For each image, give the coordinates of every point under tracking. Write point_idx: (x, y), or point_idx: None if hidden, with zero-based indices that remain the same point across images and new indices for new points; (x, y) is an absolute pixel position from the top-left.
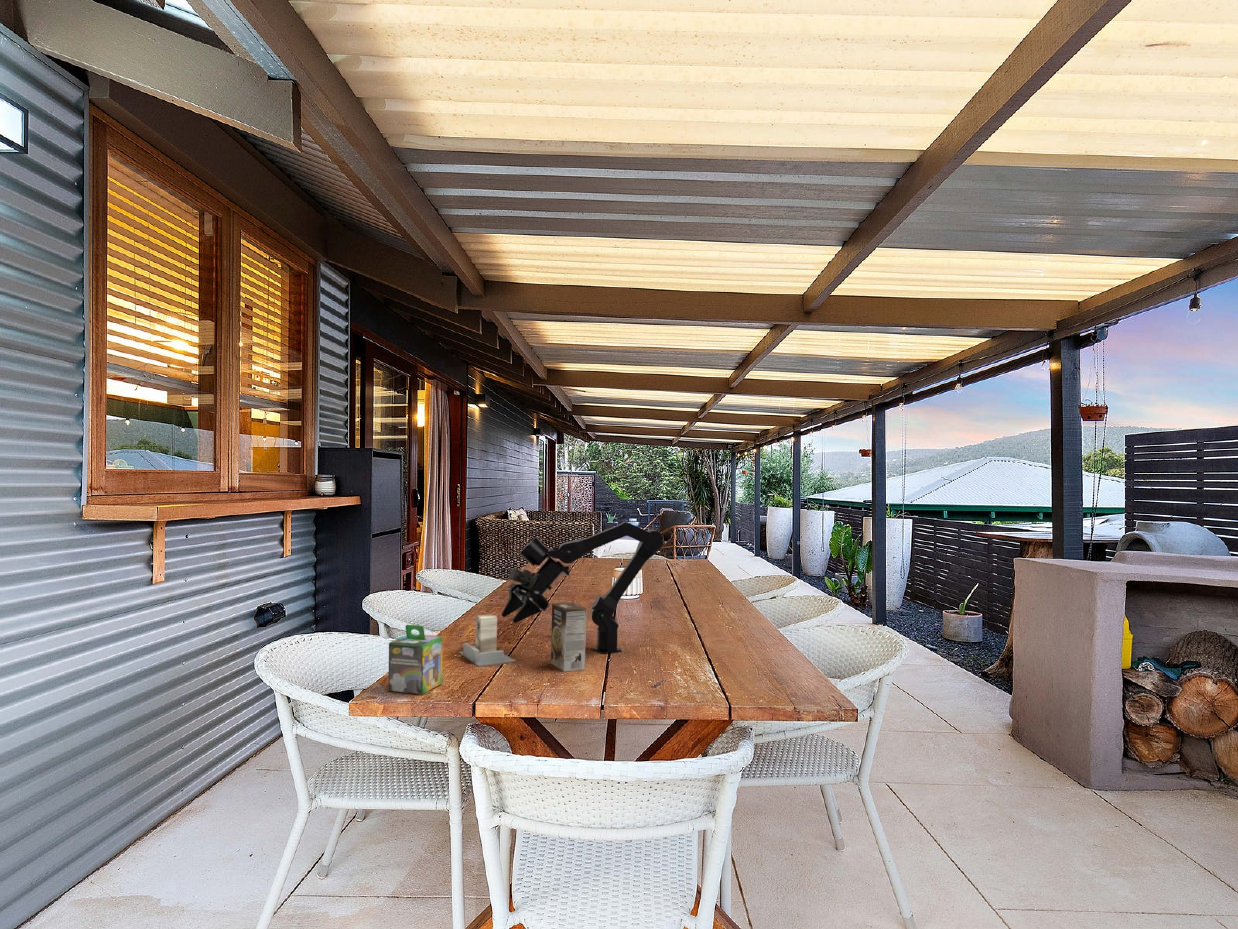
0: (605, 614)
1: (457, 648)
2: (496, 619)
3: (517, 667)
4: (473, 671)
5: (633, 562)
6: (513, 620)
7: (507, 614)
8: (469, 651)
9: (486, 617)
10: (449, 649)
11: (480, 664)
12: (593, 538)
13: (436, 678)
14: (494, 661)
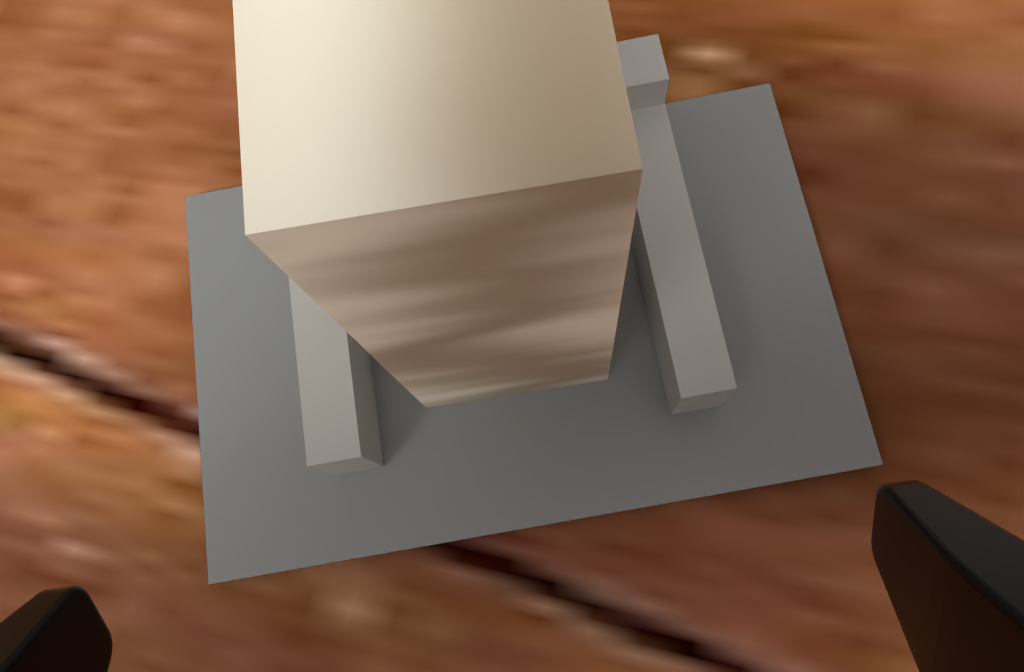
0: None
1: (1010, 94)
2: (269, 242)
3: (22, 557)
4: (79, 142)
5: None
6: (34, 609)
7: (926, 659)
8: None
9: (283, 12)
10: (976, 18)
11: (209, 212)
12: None
13: None
14: (266, 358)
